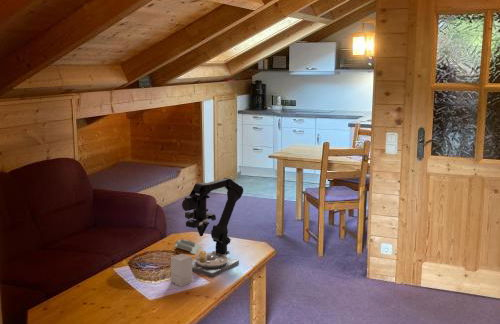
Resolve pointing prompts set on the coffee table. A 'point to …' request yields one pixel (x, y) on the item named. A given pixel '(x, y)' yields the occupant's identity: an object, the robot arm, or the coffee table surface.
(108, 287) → the coffee table surface
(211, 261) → the silver round platform
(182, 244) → the metal bracket
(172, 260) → the supplement box
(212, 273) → the base plate
